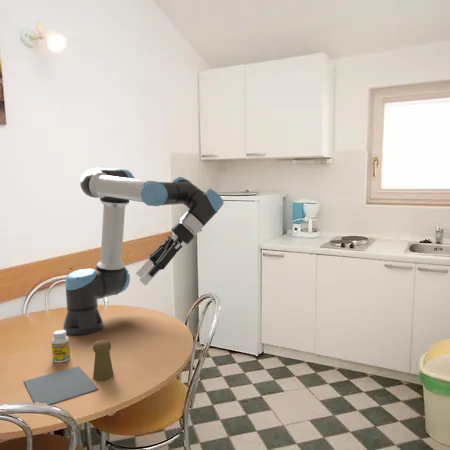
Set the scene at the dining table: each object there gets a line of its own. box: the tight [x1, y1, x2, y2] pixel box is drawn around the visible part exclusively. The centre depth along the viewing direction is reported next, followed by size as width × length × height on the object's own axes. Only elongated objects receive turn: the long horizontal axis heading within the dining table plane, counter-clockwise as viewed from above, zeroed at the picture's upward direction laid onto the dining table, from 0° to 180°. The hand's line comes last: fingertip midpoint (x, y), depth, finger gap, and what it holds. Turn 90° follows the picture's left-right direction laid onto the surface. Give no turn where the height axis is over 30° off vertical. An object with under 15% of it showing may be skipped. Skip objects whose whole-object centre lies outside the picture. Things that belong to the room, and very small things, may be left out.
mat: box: [23, 365, 99, 405], centre depth 116 cm, size 18×16×1 cm
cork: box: [92, 339, 114, 382], centre depth 121 cm, size 6×6×11 cm
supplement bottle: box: [51, 329, 71, 364], centre depth 133 cm, size 5×5×10 cm
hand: (140, 279), depth 131 cm, fingers open, 9 cm apart
